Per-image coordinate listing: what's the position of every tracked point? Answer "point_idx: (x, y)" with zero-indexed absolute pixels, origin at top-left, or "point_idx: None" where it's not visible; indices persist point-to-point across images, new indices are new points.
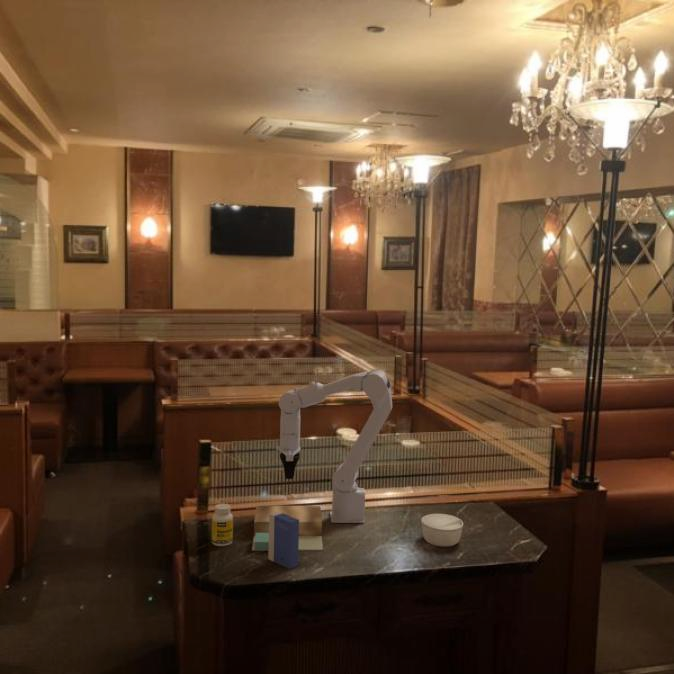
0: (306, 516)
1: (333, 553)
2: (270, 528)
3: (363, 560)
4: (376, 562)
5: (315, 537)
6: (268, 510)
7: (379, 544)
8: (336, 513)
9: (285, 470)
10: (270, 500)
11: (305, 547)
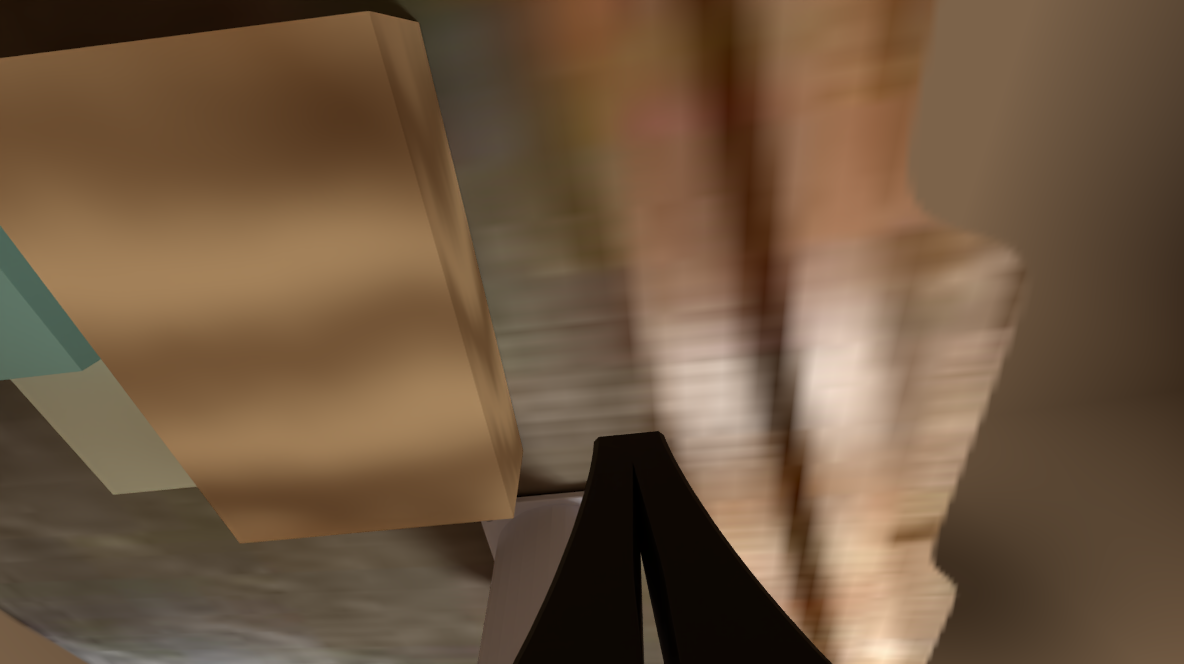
0: (285, 467)
1: (118, 525)
2: None
3: (126, 607)
4: (138, 635)
5: None
6: (276, 178)
7: (310, 638)
8: (502, 553)
9: (573, 554)
10: (901, 82)
11: (78, 426)
